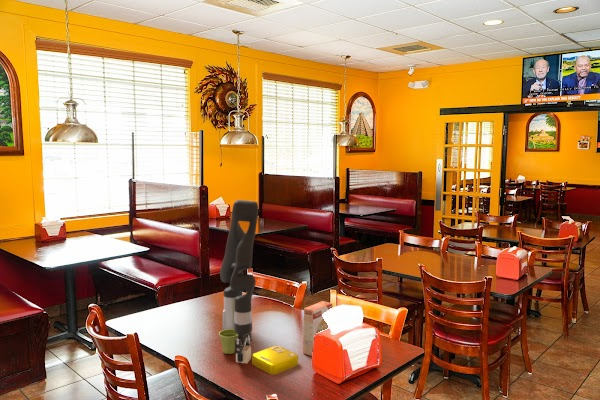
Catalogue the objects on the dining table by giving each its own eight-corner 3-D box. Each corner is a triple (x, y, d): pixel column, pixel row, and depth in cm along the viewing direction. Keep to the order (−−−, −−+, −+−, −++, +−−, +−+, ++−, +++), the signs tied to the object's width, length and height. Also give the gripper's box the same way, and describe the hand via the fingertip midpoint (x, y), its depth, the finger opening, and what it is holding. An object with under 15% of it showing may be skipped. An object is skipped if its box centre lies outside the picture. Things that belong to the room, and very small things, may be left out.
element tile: (249, 364, 205) (249, 353, 204) (276, 353, 215) (276, 343, 215) (272, 376, 194) (272, 365, 193) (300, 365, 204) (300, 354, 204)
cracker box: (313, 357, 210) (313, 310, 208) (302, 353, 214) (302, 307, 212) (332, 347, 221) (332, 302, 219) (321, 343, 225) (322, 300, 223)
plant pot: (215, 350, 217) (214, 332, 216) (233, 345, 223) (233, 327, 222) (225, 357, 210) (225, 338, 209) (244, 352, 216) (244, 333, 215)
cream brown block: (236, 362, 206) (235, 349, 205) (240, 357, 211) (239, 344, 210) (247, 363, 205) (247, 350, 204) (251, 358, 209) (250, 345, 209)
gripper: (240, 314, 213) (240, 349, 215) (228, 325, 200) (229, 363, 201) (256, 315, 212) (257, 351, 214) (246, 327, 198) (246, 365, 200)
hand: (243, 357), depth 207 cm, fingers open, 8 cm apart
